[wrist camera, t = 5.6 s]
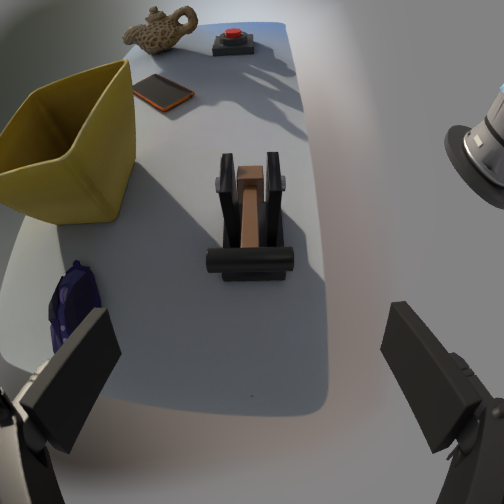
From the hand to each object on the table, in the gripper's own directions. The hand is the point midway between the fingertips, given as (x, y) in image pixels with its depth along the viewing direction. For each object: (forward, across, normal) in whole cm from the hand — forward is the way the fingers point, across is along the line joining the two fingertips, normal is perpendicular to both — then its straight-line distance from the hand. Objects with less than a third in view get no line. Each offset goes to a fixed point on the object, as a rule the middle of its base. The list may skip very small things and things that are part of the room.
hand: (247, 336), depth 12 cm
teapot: (+67, -24, +41) cm, 82 cm away
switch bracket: (+23, 0, -3) cm, 23 cm away
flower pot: (+30, -25, +4) cm, 39 cm away
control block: (+63, -4, +37) cm, 73 cm away
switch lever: (+11, 0, +2) cm, 11 cm away
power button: (+61, -4, +40) cm, 73 cm away
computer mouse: (+16, -23, -10) cm, 30 cm away
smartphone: (+48, -19, +22) cm, 56 cm away
